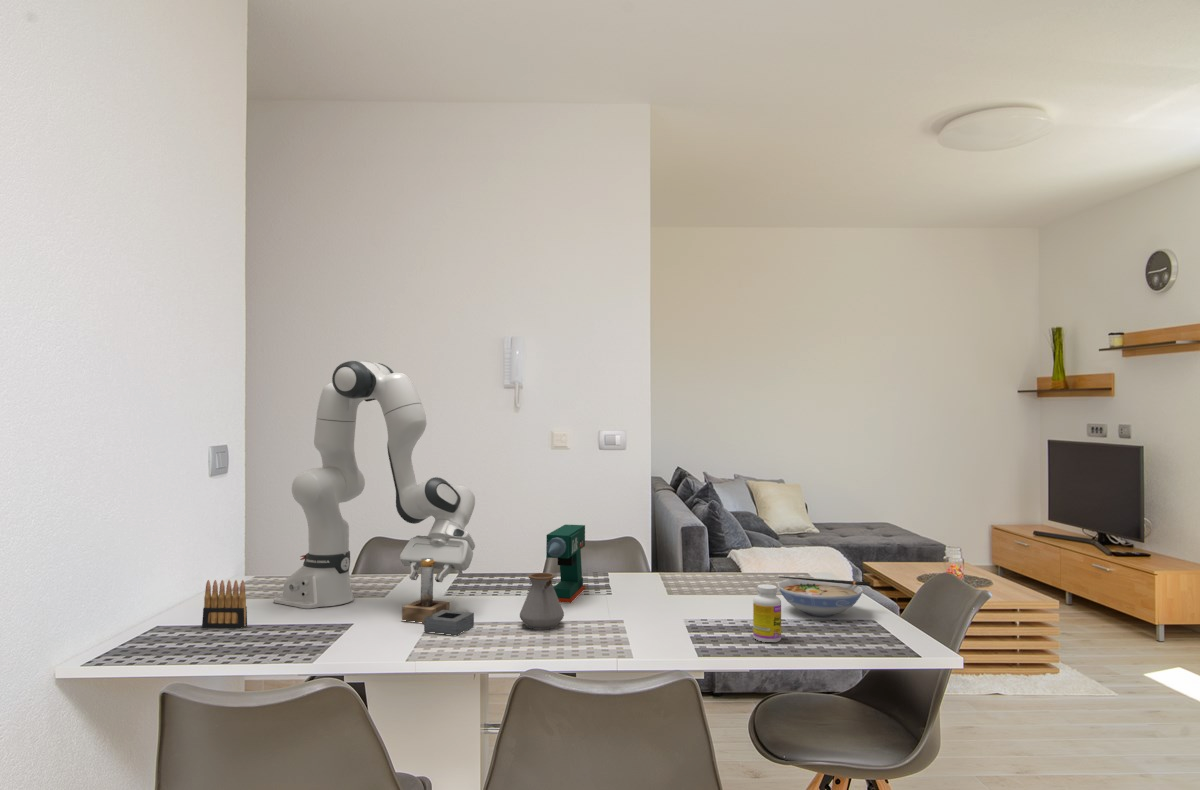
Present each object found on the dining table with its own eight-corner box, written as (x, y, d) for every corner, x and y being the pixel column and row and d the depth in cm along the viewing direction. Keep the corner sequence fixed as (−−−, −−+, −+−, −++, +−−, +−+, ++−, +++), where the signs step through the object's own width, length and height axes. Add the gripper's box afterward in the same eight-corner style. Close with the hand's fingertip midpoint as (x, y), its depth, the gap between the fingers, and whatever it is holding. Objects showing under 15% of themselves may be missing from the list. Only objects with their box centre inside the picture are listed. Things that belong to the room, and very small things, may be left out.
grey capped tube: (417, 616, 199) (418, 559, 200) (424, 613, 202) (425, 557, 203) (428, 617, 198) (429, 560, 199) (435, 614, 201) (436, 558, 202)
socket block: (424, 632, 187) (424, 618, 187) (442, 623, 196) (443, 609, 196) (456, 636, 184) (456, 621, 185) (473, 626, 193) (473, 612, 193)
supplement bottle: (775, 645, 178) (775, 590, 178) (749, 640, 182) (749, 587, 182) (785, 638, 184) (784, 585, 184) (759, 634, 187) (758, 582, 188)
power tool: (561, 615, 205) (561, 541, 205) (536, 613, 206) (536, 540, 207) (586, 589, 236) (587, 525, 237) (565, 587, 237) (565, 524, 238)
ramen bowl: (764, 617, 203) (764, 587, 203) (782, 599, 223) (782, 571, 223) (862, 629, 192) (862, 597, 192) (871, 608, 212) (871, 579, 213)
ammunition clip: (247, 626, 193) (248, 579, 193) (243, 628, 191) (244, 580, 191) (205, 626, 193) (206, 579, 193) (201, 628, 191) (202, 580, 191)
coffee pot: (517, 620, 199) (517, 563, 199) (560, 618, 201) (560, 562, 201) (525, 644, 178) (526, 580, 178) (573, 642, 180) (573, 578, 181)
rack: (402, 621, 197) (402, 606, 198) (420, 613, 206) (420, 599, 206) (432, 624, 195) (432, 609, 195) (449, 615, 203) (449, 601, 203)
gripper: (407, 528, 211) (387, 570, 201) (473, 532, 204) (454, 575, 195) (416, 542, 215) (396, 583, 205) (480, 546, 208) (462, 589, 199)
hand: (425, 579), depth 200 cm, fingers open, 6 cm apart
